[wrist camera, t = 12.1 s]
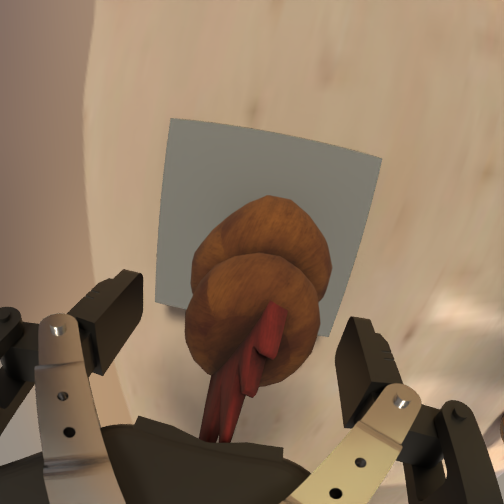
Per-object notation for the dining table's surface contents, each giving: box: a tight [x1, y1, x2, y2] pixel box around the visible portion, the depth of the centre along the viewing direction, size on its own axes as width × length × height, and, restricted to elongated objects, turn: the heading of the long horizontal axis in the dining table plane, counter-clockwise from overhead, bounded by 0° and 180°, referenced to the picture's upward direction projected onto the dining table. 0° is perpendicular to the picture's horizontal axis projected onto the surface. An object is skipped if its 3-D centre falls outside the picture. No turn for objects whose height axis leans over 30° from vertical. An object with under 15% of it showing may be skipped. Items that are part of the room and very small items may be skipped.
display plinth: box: [155, 118, 382, 337], centre depth 21 cm, size 13×13×3 cm
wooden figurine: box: [185, 195, 332, 443], centre depth 13 cm, size 7×6×15 cm
